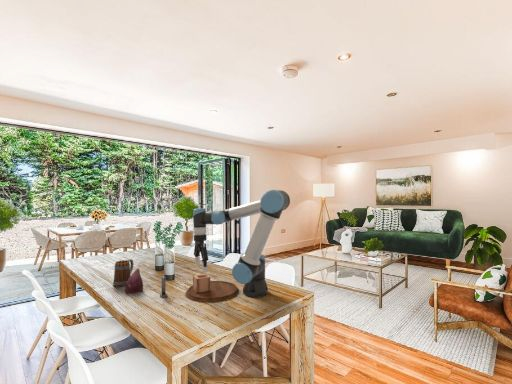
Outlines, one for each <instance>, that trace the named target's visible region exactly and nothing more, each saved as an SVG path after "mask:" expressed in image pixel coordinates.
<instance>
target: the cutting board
mask: <svg viewBox="0 0 512 384" xmlns="http://www.w3.org/2000/svg"><path fill="white" fill-rule="evenodd" d="M238 292H239V293H240V290H239V288H238V286H237V285H236V284H234V283H233V282H229V281H225V280H224V281H223V280H210V291H205V292H200V293H197V292H196V291H195V290H194V289H193V285H191V286H189V287H188V288H187V290H186V292H185V293H184V294H185V297H186V298H187V300H190V301H191V302H192V301H193V302H198V303H206V304H207V303H210V302H211V303H220V302H225V301H228V300H230V298H231V299H233V298H235V297H236V296H238V295H237V294H239V293H238ZM234 296H235V297H234ZM232 297H233V298H232ZM227 299H228V300H227ZM224 300H225V301H224ZM219 301H220V302H219ZM211 303H210V304H211Z"/></svg>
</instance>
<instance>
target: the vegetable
mask: <svg viewBox="0 0 512 384" xmlns="http://www.w3.org/2000/svg"><path fill="white" fill-rule="evenodd" d="M143 291H144V282H143V278H142V276H141V272H140V268H139V267H138V268H136V269H135V270H134V272H133V273H131V274H130V278H129V279H128V281H127V284H126V286H124V292H125V294H127V295H128V294H130V295H132V294H133V295H134V294H138V293H141V292H143Z"/></svg>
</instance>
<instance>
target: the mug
mask: <svg viewBox="0 0 512 384" xmlns="http://www.w3.org/2000/svg"><path fill="white" fill-rule="evenodd" d="M133 270H134V260H133V259H131V258H129V259H125V260H124V259H123V260H117V261H115V263H114V271H113V272H114V275H113V281H112V284H113V286H114V287H116V288H123V287H126V284H127V281H128V279H129V278H130V276H131V275H132V272H133Z"/></svg>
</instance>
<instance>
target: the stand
mask: <svg viewBox="0 0 512 384" xmlns="http://www.w3.org/2000/svg"><path fill="white" fill-rule="evenodd" d="M166 278H167V277H166V276H161V294H160V295H159V298H166V297H168V293H166V289H167V288H166V287H167V286H166V283H167V282H166Z"/></svg>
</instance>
